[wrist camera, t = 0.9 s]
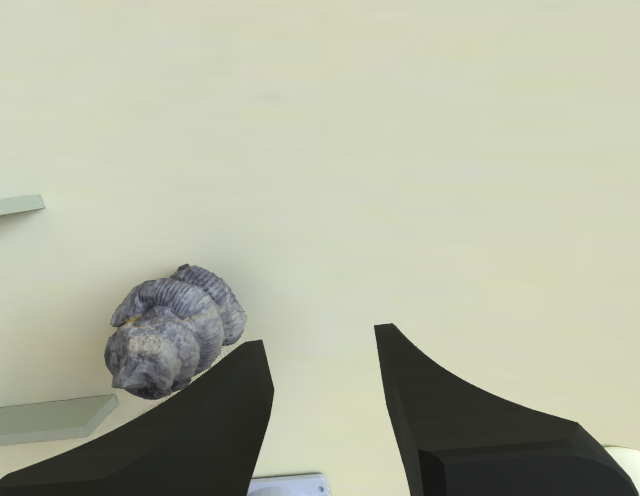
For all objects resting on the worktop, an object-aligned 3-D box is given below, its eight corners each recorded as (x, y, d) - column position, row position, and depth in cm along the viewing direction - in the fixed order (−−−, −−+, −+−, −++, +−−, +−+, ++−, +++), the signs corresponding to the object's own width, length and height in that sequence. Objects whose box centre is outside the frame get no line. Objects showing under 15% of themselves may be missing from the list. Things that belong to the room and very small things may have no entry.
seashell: (167, 294, 22) (26, 401, 12) (209, 229, 20) (89, 290, 11) (235, 340, 22) (153, 477, 13) (280, 279, 21) (227, 381, 11)
